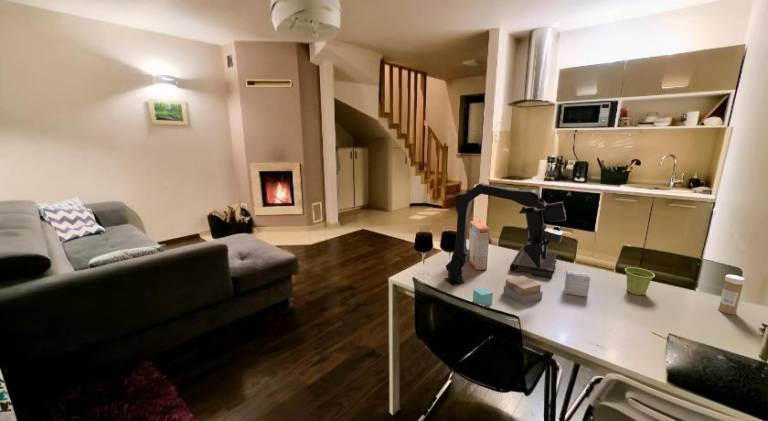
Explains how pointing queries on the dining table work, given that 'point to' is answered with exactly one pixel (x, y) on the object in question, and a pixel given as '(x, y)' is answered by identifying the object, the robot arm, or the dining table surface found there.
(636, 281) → the plant pot
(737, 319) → the dining table surface
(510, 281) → the tan square block
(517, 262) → the diary
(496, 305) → the dining table surface
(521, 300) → the grey square slab
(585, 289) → the medicine box
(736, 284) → the sprinkles bottle
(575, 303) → the dining table surface
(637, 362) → the dining table surface
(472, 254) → the cracker box
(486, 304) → the teal cube
